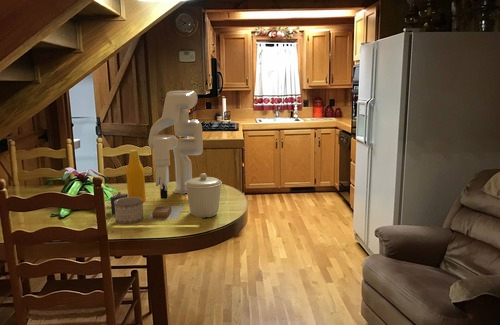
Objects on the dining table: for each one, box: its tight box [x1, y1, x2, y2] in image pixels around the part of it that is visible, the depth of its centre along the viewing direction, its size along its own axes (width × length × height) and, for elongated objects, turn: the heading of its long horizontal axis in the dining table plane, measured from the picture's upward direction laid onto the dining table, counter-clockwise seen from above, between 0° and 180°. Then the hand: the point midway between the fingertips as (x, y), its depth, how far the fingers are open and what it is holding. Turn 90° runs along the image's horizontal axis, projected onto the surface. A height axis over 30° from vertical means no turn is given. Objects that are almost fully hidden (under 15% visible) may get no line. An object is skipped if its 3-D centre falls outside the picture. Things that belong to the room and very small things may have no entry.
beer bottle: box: [125, 149, 147, 203], centre depth 217 cm, size 9×9×29 cm
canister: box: [185, 172, 223, 219], centre depth 197 cm, size 18×18×21 cm
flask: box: [109, 191, 128, 215], centre depth 203 cm, size 9×3×11 cm, turn 138°
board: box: [147, 205, 184, 220], centre depth 201 cm, size 20×14×1 cm
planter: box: [114, 197, 145, 225], centre depth 190 cm, size 13×13×10 cm
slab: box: [151, 205, 172, 218], centre depth 196 cm, size 3×7×10 cm
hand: (164, 198), depth 201 cm, fingers closed
